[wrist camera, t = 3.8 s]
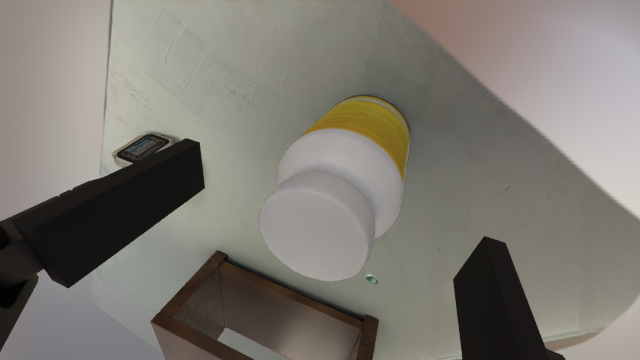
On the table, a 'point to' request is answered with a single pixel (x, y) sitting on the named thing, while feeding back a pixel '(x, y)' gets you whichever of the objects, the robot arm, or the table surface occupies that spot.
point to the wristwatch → (140, 149)
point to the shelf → (255, 319)
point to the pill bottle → (338, 189)
